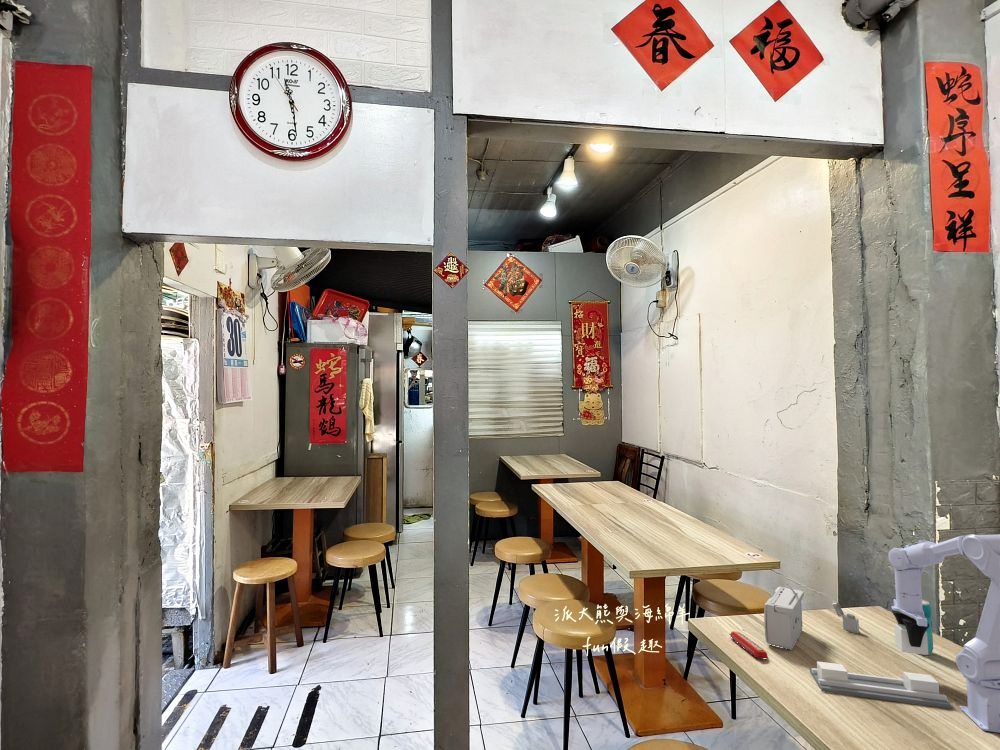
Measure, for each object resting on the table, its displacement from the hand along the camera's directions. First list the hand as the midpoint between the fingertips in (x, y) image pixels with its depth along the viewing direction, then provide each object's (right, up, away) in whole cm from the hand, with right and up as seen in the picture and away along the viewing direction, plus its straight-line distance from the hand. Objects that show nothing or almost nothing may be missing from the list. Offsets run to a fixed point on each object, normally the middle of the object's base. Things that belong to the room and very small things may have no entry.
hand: (911, 642), depth 141 cm
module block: (0, -2, 0) cm, 2 cm away
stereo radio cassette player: (-22, -11, +23) cm, 33 cm away
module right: (-6, -8, -10) cm, 14 cm away
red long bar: (-38, -11, +16) cm, 42 cm away
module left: (-25, -9, -4) cm, 27 cm away
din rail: (-15, -9, -7) cm, 19 cm away
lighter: (+2, -11, +29) cm, 31 cm away
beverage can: (+14, -10, +13) cm, 22 cm away
